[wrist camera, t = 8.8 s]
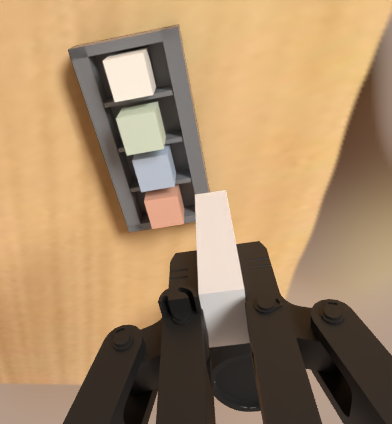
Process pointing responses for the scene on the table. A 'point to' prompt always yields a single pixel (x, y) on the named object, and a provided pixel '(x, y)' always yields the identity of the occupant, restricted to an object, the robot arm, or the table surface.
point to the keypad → (164, 94)
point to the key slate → (155, 169)
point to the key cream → (130, 74)
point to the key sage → (141, 128)
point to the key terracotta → (165, 207)
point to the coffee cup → (234, 377)
